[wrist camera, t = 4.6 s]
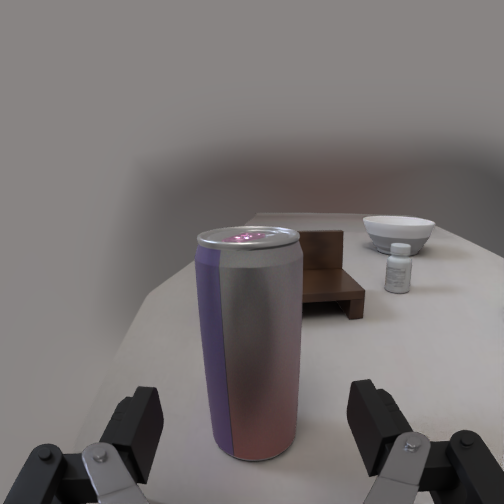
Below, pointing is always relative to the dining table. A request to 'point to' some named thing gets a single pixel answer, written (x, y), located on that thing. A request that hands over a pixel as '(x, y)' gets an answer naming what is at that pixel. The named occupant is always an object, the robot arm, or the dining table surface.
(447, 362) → the dining table surface
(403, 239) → the bowl
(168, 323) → the dining table surface
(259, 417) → the beverage can
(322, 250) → the wooden stand
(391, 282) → the pill bottle
